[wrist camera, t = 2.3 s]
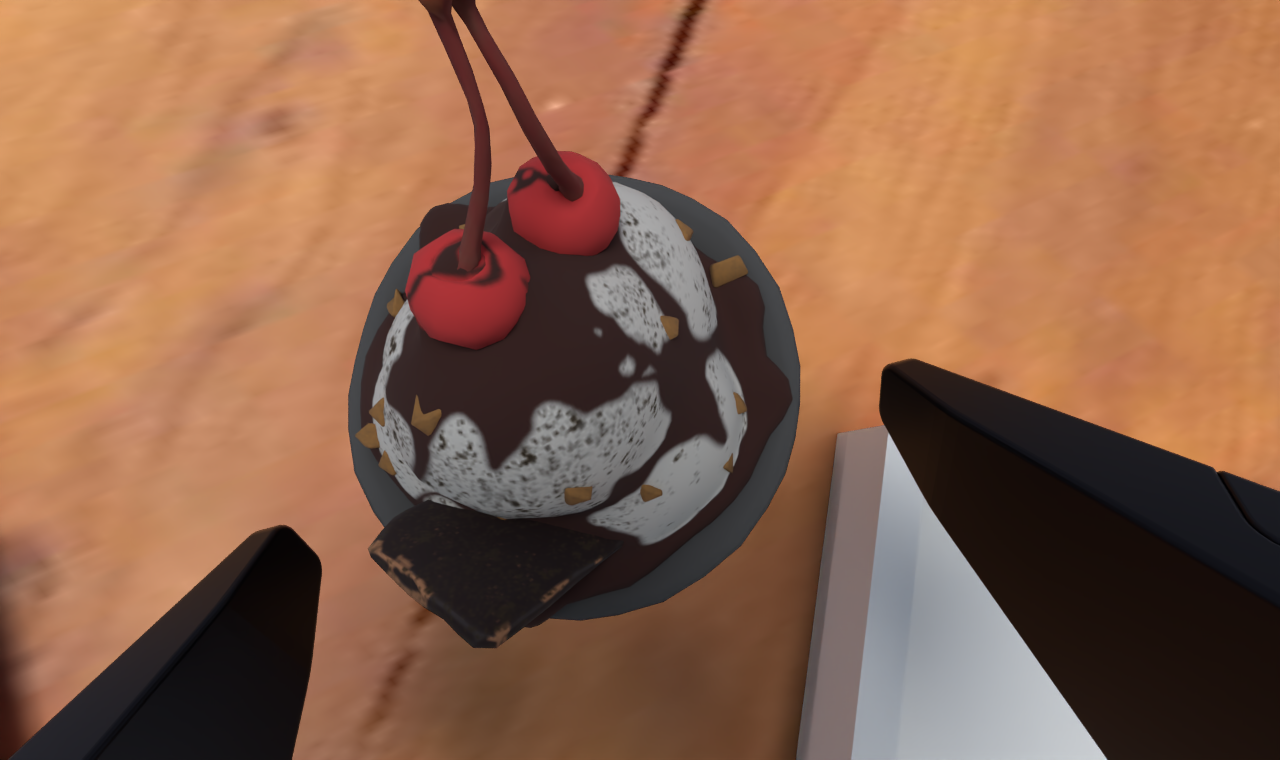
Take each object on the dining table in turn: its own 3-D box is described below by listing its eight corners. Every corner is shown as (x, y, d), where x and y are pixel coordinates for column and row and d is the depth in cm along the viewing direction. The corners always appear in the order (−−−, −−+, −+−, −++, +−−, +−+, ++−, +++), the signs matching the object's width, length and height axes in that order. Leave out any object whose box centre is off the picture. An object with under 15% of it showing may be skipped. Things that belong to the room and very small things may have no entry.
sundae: (643, 289, 18) (576, -415, 4) (762, 452, 18) (1320, 384, 3) (481, 399, 18) (-321, 107, 3) (593, 572, 17) (164, 1263, 2)
